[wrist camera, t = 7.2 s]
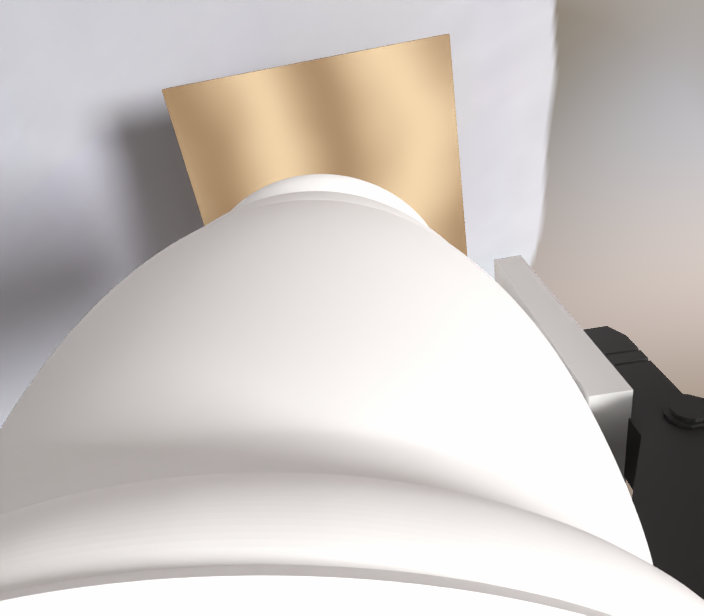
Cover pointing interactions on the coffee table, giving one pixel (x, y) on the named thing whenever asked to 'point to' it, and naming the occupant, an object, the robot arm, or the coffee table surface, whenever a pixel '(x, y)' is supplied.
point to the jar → (315, 437)
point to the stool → (330, 129)
